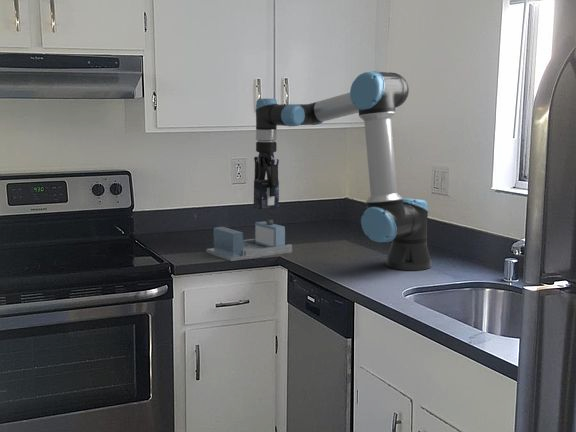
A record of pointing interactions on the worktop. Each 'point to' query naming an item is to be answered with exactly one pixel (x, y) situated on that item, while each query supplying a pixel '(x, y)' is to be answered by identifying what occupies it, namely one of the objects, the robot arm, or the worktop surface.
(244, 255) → the vise base
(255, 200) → the box
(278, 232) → the block
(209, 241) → the worktop surface
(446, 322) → the worktop surface
